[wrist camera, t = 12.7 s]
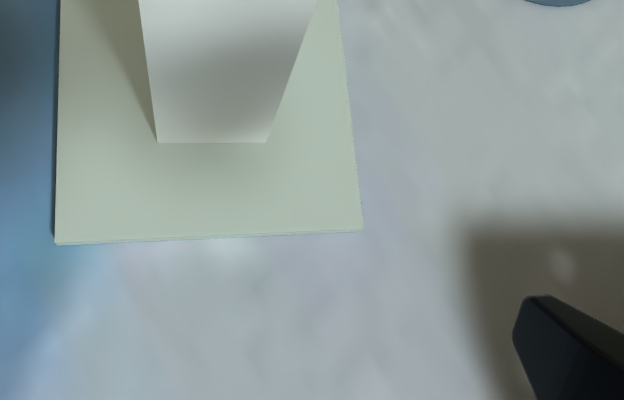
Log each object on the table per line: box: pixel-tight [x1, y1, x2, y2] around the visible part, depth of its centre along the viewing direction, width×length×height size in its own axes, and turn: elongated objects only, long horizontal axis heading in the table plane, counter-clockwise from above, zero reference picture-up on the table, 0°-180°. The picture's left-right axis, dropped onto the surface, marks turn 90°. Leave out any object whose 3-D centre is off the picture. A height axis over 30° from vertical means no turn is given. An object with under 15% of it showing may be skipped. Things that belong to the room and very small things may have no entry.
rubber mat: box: [55, 0, 364, 246], centre depth 24 cm, size 12×12×1 cm
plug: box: [138, 0, 317, 143], centre depth 18 cm, size 4×4×12 cm
